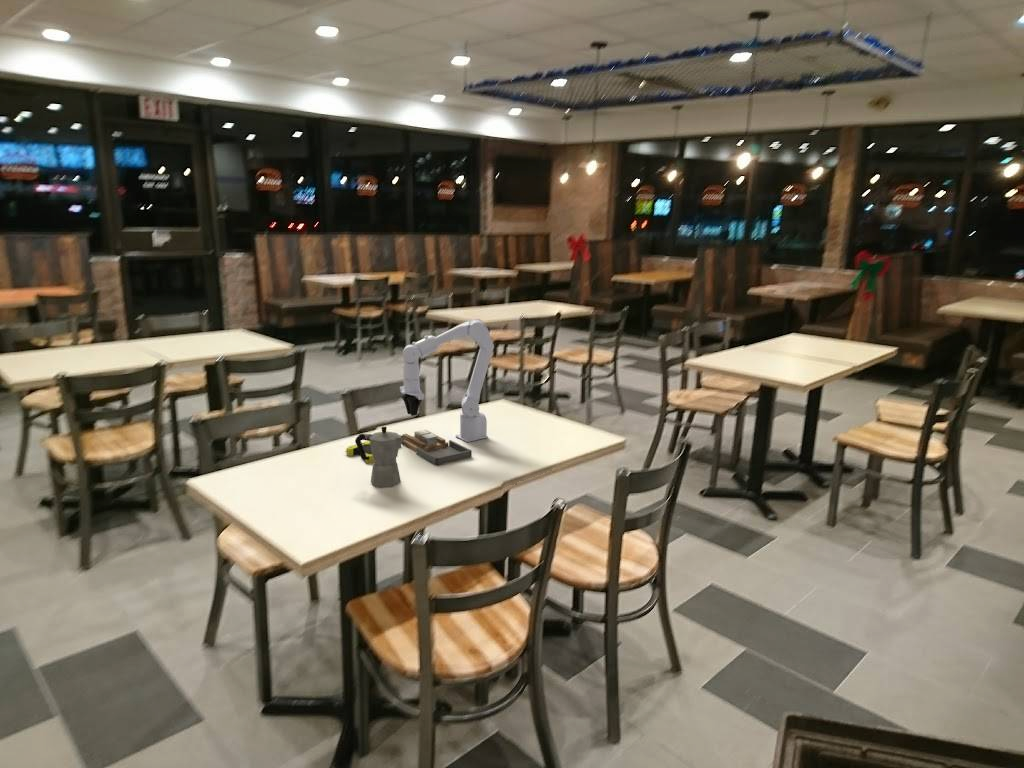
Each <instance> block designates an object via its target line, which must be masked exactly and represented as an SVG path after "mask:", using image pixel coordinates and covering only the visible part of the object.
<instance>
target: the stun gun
mask: <svg viewBox="0 0 1024 768" xmlns="http://www.w3.org/2000/svg"><path fill="white" fill-rule="evenodd" d="M362 446H363V449H364V451H365V456H366V457H369V460H364V459H362V457H361V456H360V458H361V459H362V460H363V461H364V462H365V463H366V464H372V463H374V458H373V455H372V450H371V445H370V441H367V440H365V441H364V442H362ZM401 446H402V445H401ZM401 446H400V447H399V448H401ZM345 453H346V456H349V457H350V456H357V455H360V452H359V450H358V447H357V445H356V444H354V445H349V446H348V447H346V450H345Z"/></svg>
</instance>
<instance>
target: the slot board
mask: <svg viewBox="0 0 1024 768" xmlns="http://www.w3.org/2000/svg"><path fill="white" fill-rule="evenodd" d="M425 430H426V431H428V432H430V434H431V433H432V434H434V435H436V436H437V445H432V446H428V447H427V446H426V444H425V443H423V442H421V441H419V440H417V439H416V438H415V435H413V436H412V435H409V434H408V433H402V436H405V437H406V439H405V440H404V441H403V442H402V444H401V445H402V446H405V447H406V448H408V449H410V450H412V451H413V452H415V453H416V448H417V447H419V448H420V449H422V450H424V451H428V450H432V449H437V448H441V447H446V446H449V442H446V439H445V438H443V437H441V436H439V435H437V434H436V433H433V432H431V431H429V430H427V429H425Z"/></svg>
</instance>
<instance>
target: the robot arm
mask: <svg viewBox="0 0 1024 768" xmlns="http://www.w3.org/2000/svg"><path fill="white" fill-rule="evenodd" d="M469 336H470V338H472V340H473V341H475V342H476V343H477V345H478V347H479V350H478V353H477V357H476V361H475V365H474V368H473V371H472V374H471V378H470V381H469V385H468V388H467V390H466V392H465V394H464V395H463V397H462V398H461V400H460V403H461V412H460V413H459V414H460V415H459V416H460V417H459V421H460V422H459V423H460V424H459V425H460V426H459V427H460V431H459V433H460V434H456V435H455V437H456V438H457V439H459V440H462V441H463V442H466V443H470V442H473V441H479V440H482V439H487V438H489V436H488V435H487V433H488V431H487V428H488V427H487V426H488V422H487V417H486V415H485V414H484V413H483V412H480V406H479V403H480V399H481V392H482V388H483V386H484V382H485V380H486V379H485V378H486V375H487V371H488V369H489V365H490V361H491V357H492V354H493V351H494V348H495V347H494V346H495V345H494V342H493V340H492V336H491V334H490V331H489V328H488V326H487V325H486V324H485V322H484V321H483V320H481V319H480V318H473V319H471V320H468V321H465V322H462V323H460V324H457V325H456V326H454V327H453V328H451V329H448V330H447V331H445V332H443V333H441V334H439V335H437V336H434V335H428V334H427V335H425V336H423V338H422V339H420V340H418V341H413V342H412V343H411V344H408V345H406V346H405V347H404V349H403V350H402V359H403V362H402V364H403V366H402V369H403V385H401V386H399V391H400V393H401V394H402V395H401V399H402V400H403V402H404V405H405V409H406V412H407V414H408V415H410V416H411V417H413V416H414V417H415V416H417V415H418V412H419V408H420V404H421V402H422V401H423V400H425V394H424V392H422V390H421V389H420V388H421V386H420V385H421V383H420V365H419V359H420V358H423V357H427V356H428V355H431V354H432V353H434V352H437V351H438V350H439V347H440V346H441V345H442V344H446V343H448V342H450V341H452V340H454V339H457V338H459V337H461V338H467V339H468V338H469Z"/></svg>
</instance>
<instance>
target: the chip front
mask: <svg viewBox="0 0 1024 768" xmlns="http://www.w3.org/2000/svg"><path fill="white" fill-rule="evenodd" d="M432 433H433V432H431V434H426V435H422V442H423V443H425V444H426V446H427V447H428V446H432V445H437V436H438V435H437V434H435V433H433V434H432ZM434 434H435V435H434ZM436 435H437V436H436Z"/></svg>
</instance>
